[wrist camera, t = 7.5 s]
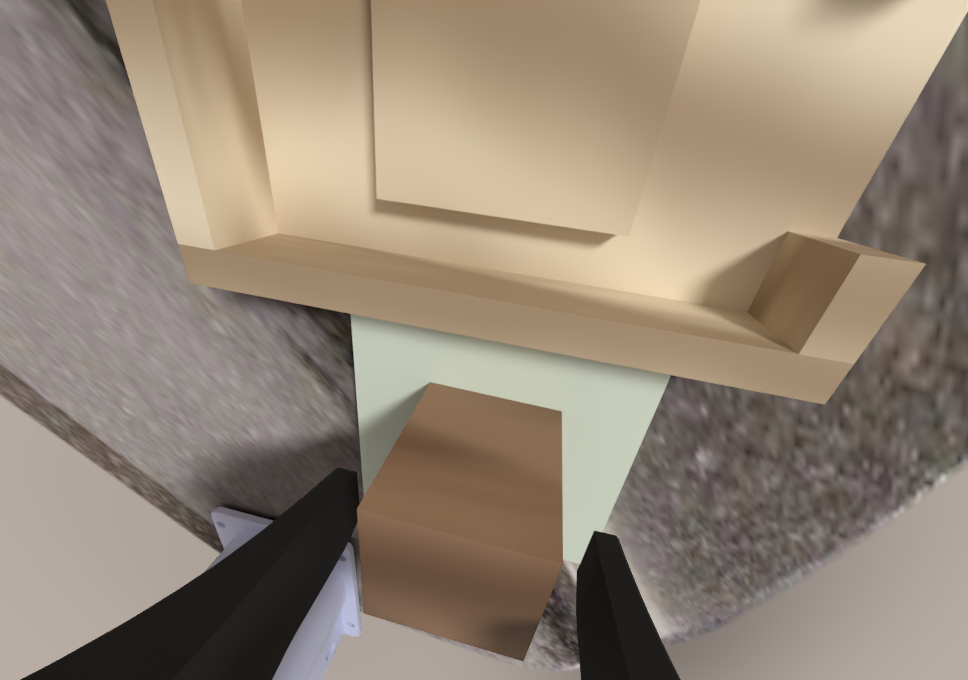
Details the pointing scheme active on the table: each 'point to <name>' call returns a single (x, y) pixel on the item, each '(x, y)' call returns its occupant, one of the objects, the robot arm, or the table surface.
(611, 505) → the sage tile
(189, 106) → the tray
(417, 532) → the walnut block
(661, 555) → the table surface
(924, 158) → the table surface
